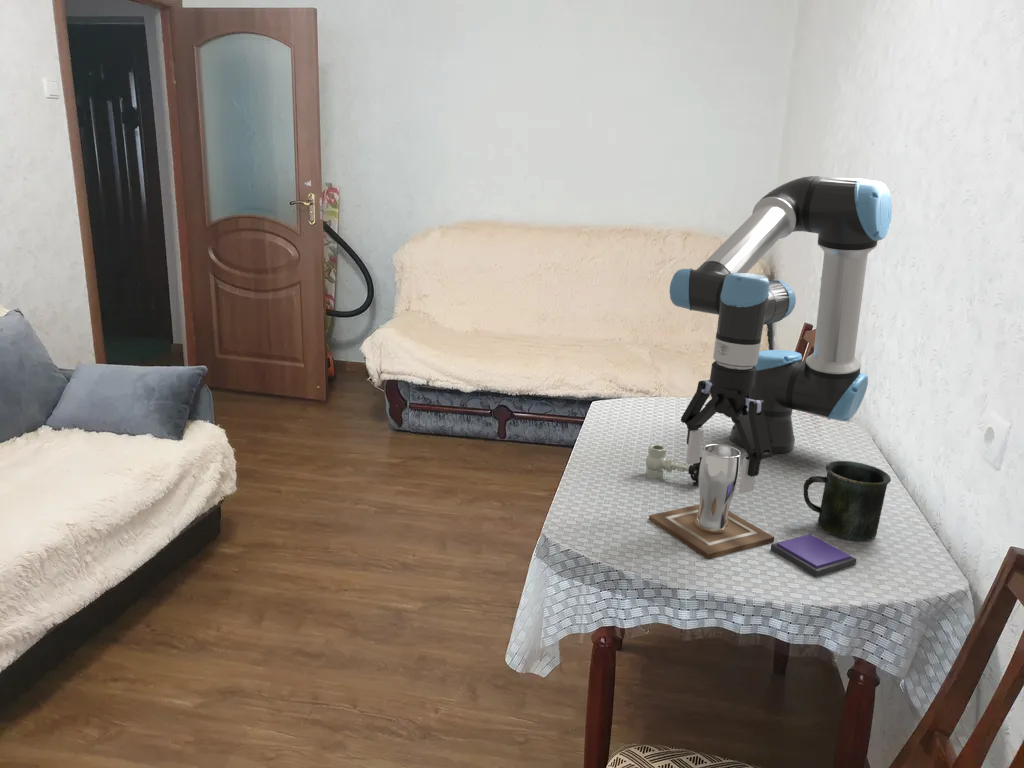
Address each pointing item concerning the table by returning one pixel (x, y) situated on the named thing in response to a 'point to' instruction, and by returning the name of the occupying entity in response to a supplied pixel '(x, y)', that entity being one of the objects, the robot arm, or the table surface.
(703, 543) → the board
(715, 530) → the beer glass
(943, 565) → the table surface
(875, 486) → the mug
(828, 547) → the ink pad
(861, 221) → the robot arm
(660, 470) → the valve
